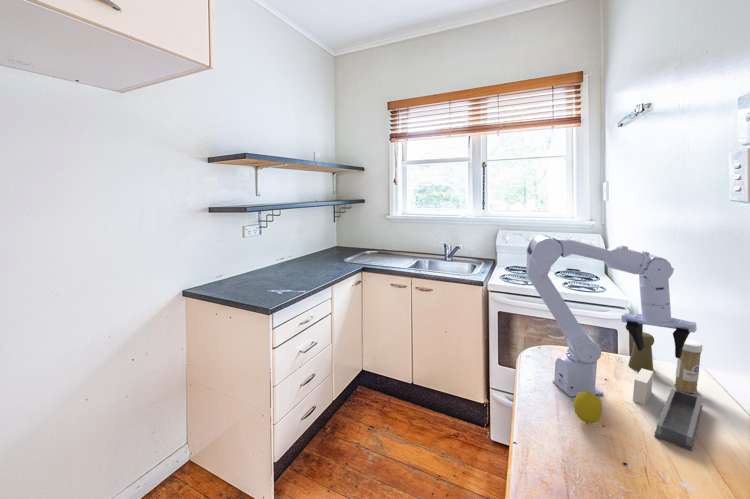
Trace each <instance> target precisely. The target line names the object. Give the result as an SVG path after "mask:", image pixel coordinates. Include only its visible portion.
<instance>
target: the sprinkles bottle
mask: <svg viewBox="0 0 750 499" xmlns="http://www.w3.org/2000/svg"><path fill="white" fill-rule="evenodd" d="M702 352H703V344H702V343H701V342H698V341H696V340H692V339H688V338H687V339H686V341H685V343H684V346H683V349H682V356H681V357H680V358H676V359H677V360H676V361H677V362H676V368H675V369H676V370H675V381H674V382H675V383H674V388H675V389H676V390H679V391H682V392H686V393H689V394H696V393H698V381H699V375H700V365H701V364H700V363H701V361H700V360H701V353H702Z"/></svg>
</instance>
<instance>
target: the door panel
mask: <svg viewBox="0 0 750 499" xmlns="http://www.w3.org/2000/svg"><path fill="white" fill-rule="evenodd" d="M653 380H654V370H653V371H650V370H646V369H642V368H641V370H640V372H639V371H638V373H637V375H636V376H635V378H634V380H633V382H634V383H633V391H632V392H633V394H632V401H633V402H635V403H637V404H640V405H644V406H645V405H646V404H647V402H648V400H649V398H650V396H651V394H652V391H653V389H652V388H653Z"/></svg>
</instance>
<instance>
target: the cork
mask: <svg viewBox="0 0 750 499" xmlns="http://www.w3.org/2000/svg"><path fill="white" fill-rule="evenodd" d="M642 336H643V344H644V348H643V349H642V350H641V351H639V350H638V349H637V346H636V343H635V341H634V339H633V337H632V336H631V338H632V341H633V345H632V349H631V354H630V357H629V361H628V364H627V366H628V367H629V368H630V369H632V370H634V371H637V372H638V373H639V372H640V370H641V368H642V369H646V370H650V371H653V372H654V360H653V349H652V346H653V345H654V343H655V338H654V336H653V335H652V334H650V333H647V332H643V331H642Z"/></svg>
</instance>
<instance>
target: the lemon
mask: <svg viewBox="0 0 750 499" xmlns="http://www.w3.org/2000/svg"><path fill="white" fill-rule="evenodd" d="M573 410H574V413H575V414H576V416H577V418H579V419H580V420H581V421H582V422H584V423H585V424H595V423H596V422H598V421H599V420H600V419H601V418H602V414H603V408H602V402H601V400H600V398H599V397H598V396H597V395H595V394H593V393H591V392H590V391H583V392H580V393H578V394H577V396H575V398H574V401H573Z"/></svg>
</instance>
